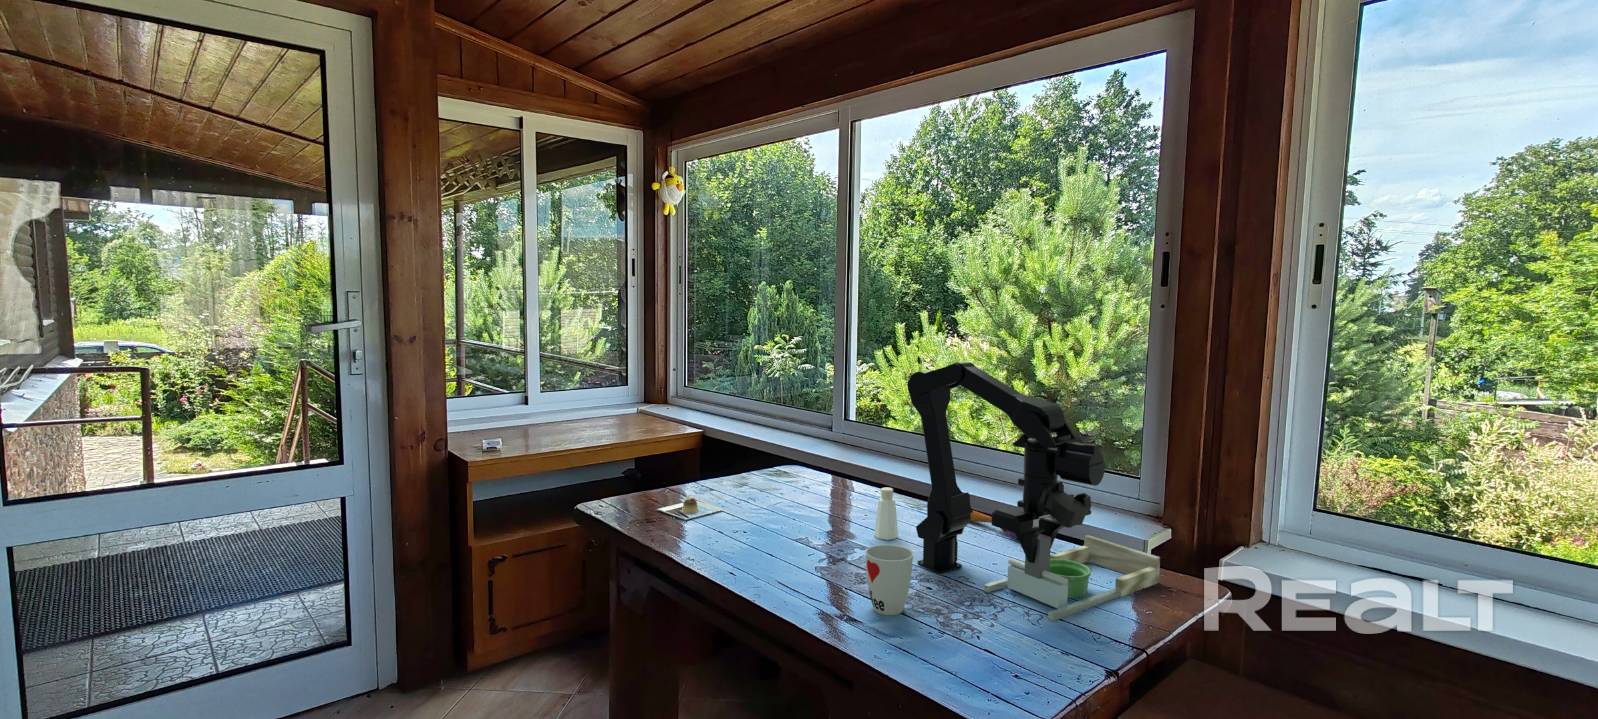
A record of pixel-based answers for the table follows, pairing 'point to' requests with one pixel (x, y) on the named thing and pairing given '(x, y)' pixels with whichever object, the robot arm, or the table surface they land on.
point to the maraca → (984, 518)
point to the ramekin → (1072, 576)
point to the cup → (888, 577)
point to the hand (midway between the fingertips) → (1037, 560)
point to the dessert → (690, 508)
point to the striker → (1038, 577)
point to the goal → (1107, 554)
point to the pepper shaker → (886, 516)
